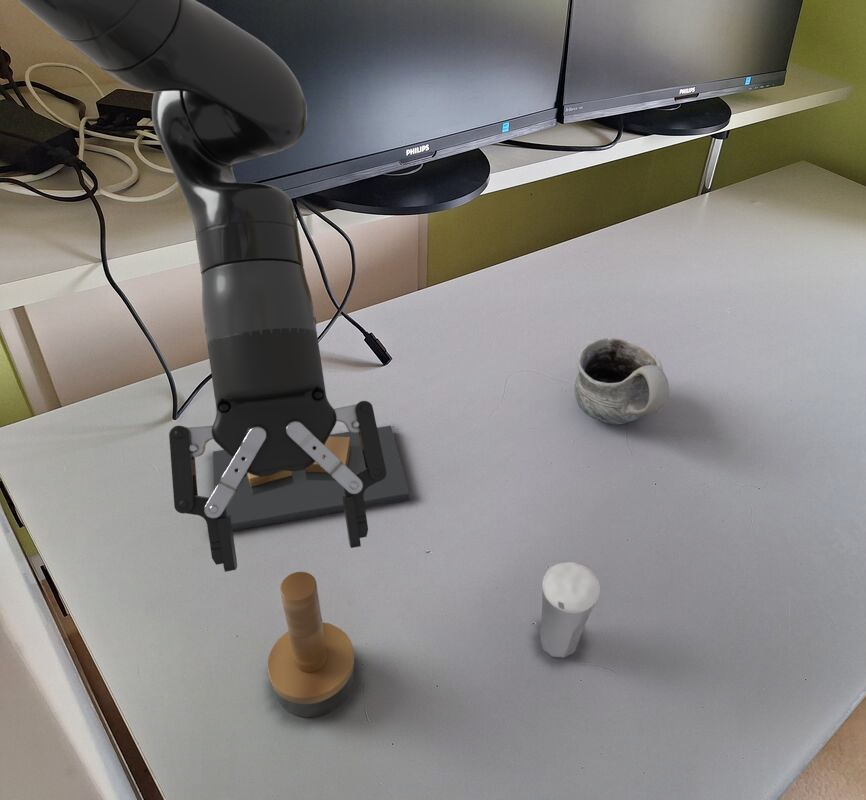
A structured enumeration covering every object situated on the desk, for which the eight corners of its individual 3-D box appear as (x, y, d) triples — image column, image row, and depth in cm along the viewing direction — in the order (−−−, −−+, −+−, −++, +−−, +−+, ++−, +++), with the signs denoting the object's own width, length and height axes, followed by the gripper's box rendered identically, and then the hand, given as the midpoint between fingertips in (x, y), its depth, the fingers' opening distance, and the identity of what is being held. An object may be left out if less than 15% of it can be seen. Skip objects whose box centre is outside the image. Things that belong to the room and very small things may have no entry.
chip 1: (251, 487, 74) (249, 479, 73) (241, 460, 76) (239, 451, 75) (292, 475, 75) (291, 467, 75) (281, 449, 78) (280, 440, 77)
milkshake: (520, 660, 64) (532, 591, 57) (544, 610, 68) (557, 540, 61) (571, 682, 63) (589, 614, 56) (591, 630, 67) (610, 561, 60)
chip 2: (305, 472, 76) (304, 463, 75) (311, 443, 79) (310, 435, 78) (346, 473, 76) (345, 464, 76) (350, 445, 79) (350, 436, 79)
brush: (276, 729, 58) (251, 636, 49) (270, 655, 62) (246, 557, 54) (361, 708, 60) (352, 614, 51) (349, 637, 64) (339, 540, 55)
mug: (614, 373, 94) (628, 306, 88) (686, 433, 87) (708, 365, 81) (553, 400, 90) (564, 331, 83) (625, 465, 83) (643, 396, 76)
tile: (216, 533, 70) (214, 526, 70) (214, 458, 77) (212, 451, 77) (409, 499, 76) (409, 493, 75) (391, 432, 83) (390, 425, 82)
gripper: (143, 337, 49) (179, 587, 49) (366, 314, 53) (401, 544, 53) (163, 352, 56) (194, 570, 56) (358, 331, 60) (389, 533, 60)
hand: (295, 557), depth 54 cm, fingers open, 8 cm apart
